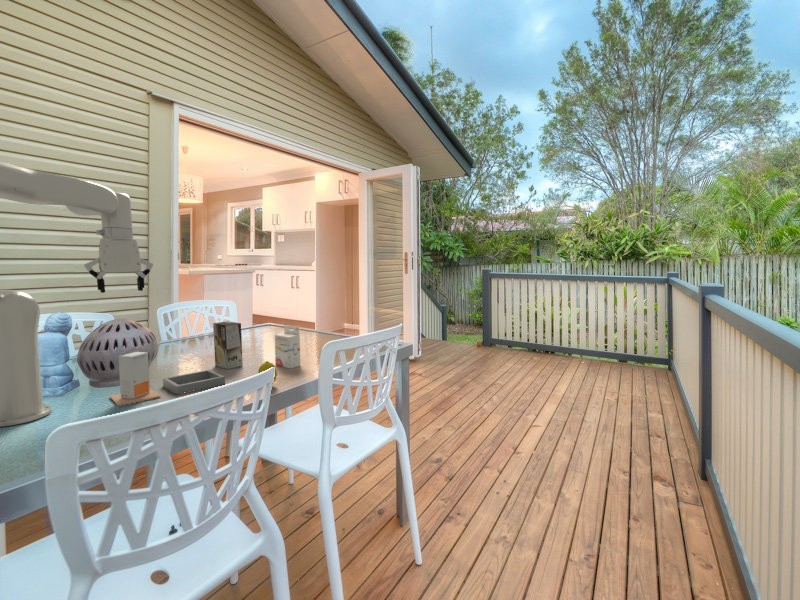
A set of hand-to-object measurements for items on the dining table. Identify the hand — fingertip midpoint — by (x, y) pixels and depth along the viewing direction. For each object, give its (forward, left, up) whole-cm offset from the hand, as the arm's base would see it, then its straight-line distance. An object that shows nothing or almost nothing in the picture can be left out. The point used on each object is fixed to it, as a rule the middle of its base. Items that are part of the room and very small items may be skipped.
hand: (122, 291), depth 124 cm
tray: (+14, -15, -29) cm, 36 cm away
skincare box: (-2, -15, -29) cm, 33 cm away
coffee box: (+32, +1, -30) cm, 44 cm away
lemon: (+29, -33, -30) cm, 53 cm away
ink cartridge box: (+47, -15, -30) cm, 58 cm away
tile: (-2, -15, -29) cm, 33 cm away
